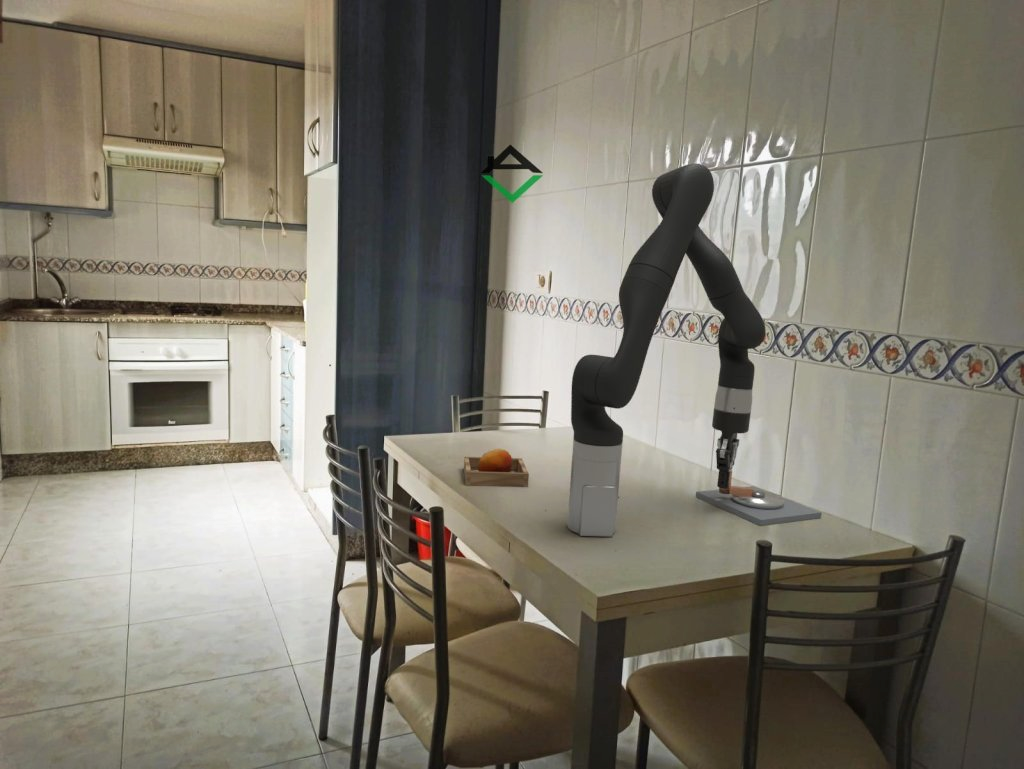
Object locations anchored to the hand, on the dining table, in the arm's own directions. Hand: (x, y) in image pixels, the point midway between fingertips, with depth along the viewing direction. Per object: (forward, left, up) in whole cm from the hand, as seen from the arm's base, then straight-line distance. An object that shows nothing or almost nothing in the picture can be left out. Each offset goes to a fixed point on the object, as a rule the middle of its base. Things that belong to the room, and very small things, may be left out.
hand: (722, 487), depth 160 cm
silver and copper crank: (+1, -7, -3) cm, 8 cm away
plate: (+1, -8, -5) cm, 10 cm away
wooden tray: (+19, +48, -5) cm, 51 cm away
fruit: (+19, +48, -5) cm, 51 cm away
